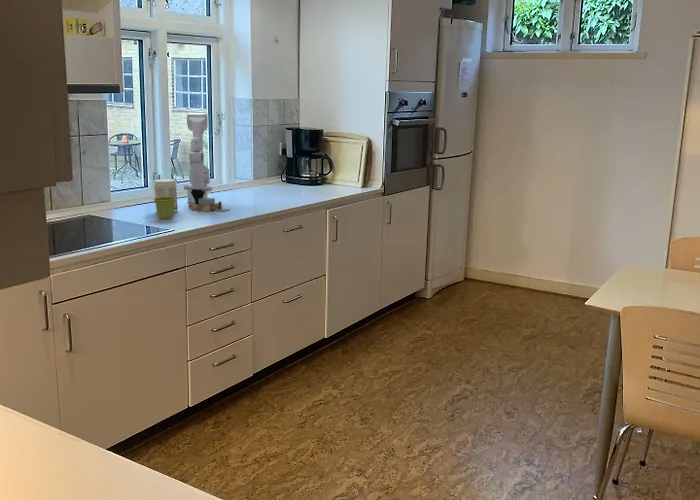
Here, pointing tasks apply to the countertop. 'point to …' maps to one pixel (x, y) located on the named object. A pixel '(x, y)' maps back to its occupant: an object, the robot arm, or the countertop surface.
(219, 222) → the countertop surface
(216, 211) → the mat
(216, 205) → the chute
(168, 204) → the plant pot
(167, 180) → the supplement tub
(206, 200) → the block
